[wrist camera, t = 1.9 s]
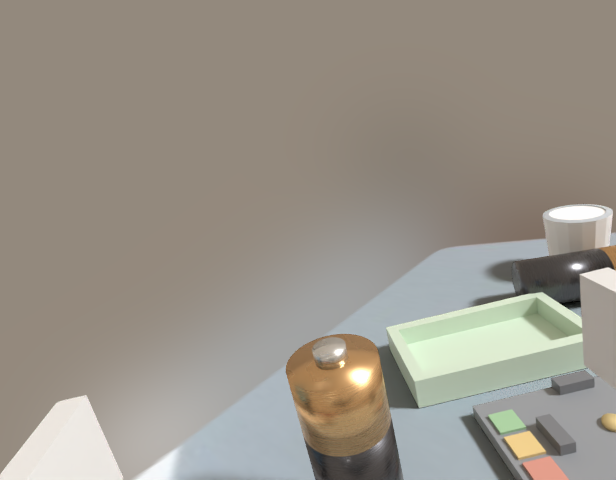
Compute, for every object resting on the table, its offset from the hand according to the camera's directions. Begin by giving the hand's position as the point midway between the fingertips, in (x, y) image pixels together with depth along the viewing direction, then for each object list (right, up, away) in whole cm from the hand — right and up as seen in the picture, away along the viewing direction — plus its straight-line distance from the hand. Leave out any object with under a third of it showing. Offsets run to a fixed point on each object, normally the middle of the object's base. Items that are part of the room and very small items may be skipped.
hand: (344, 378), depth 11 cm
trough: (+16, -7, +28) cm, 32 cm away
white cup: (+32, 0, +39) cm, 51 cm away
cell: (+3, -14, +15) cm, 20 cm away
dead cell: (+28, -2, +33) cm, 43 cm away
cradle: (+18, -10, +17) cm, 26 cm away
